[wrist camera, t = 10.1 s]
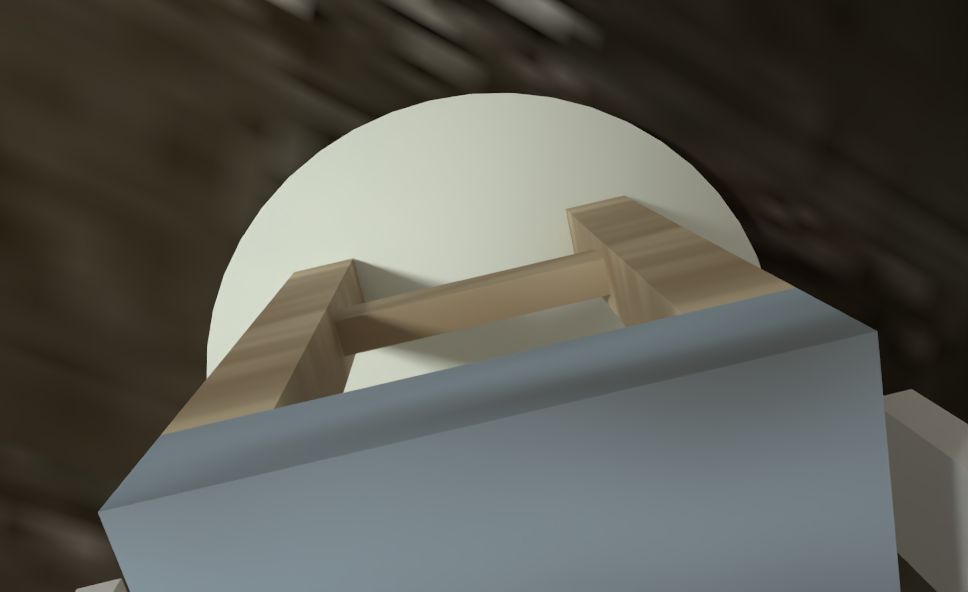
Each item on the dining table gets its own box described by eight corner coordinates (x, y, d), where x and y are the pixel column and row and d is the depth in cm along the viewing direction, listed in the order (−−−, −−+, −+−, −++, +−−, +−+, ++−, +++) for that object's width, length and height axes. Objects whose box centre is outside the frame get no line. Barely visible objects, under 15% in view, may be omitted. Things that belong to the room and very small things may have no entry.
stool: (294, 272, 20) (98, 512, 9) (624, 195, 20) (878, 331, 8) (380, 559, 22) (318, 1054, 11) (675, 491, 22) (928, 913, 11)
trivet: (305, 662, 24) (300, 681, 23) (134, 169, 20) (122, 172, 19) (793, 549, 24) (805, 563, 23) (726, 31, 20) (737, 29, 19)
